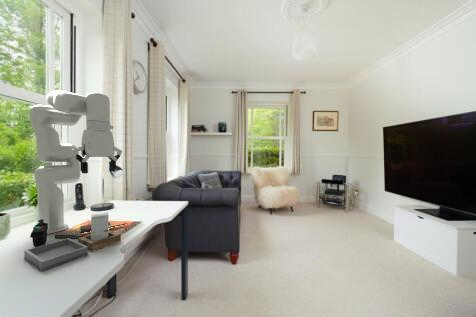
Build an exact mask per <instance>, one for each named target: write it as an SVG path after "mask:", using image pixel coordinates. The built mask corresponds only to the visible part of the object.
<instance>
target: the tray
mask: <svg viewBox="0 0 476 317" xmlns="http://www.w3.org/2000/svg"><path fill="white" fill-rule="evenodd" d="M88 255H89V250H88V246H85V245H83V244H81V243H79V242H78V241H76V240H74V239H71V238H70V237H68V238H64V239H60V240H56V241H54V242H53V241H52V242H50V243H46V244H45V245H42V246H38V247H31V248H28V249H24V250H23V257H24V260H25V261H27V262H28V263H29V264H31V265H32V266H34V268H36V269H37V270H39V271H40V272H45V271H47V270H51V269H53V268H56V267H58V266H61V265H64V264H67V263H69V262H73V261H75V260H78V259H81V258H84V257H86V256H88Z"/></svg>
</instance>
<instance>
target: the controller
mask: <svg viewBox="0 0 476 317" xmlns="http://www.w3.org/2000/svg"><path fill="white" fill-rule="evenodd" d="M43 221H44V219H41V220H38V219H37V223H36V224H35V225H34V226H33V228H32V230H31V233H30V236H29V237H30V238H31V239H32V244H33V245H32V246H33V248H35V247H38V246H42V245H45V244H47V240H48V234H47V229H48V223H44V222H43ZM38 222H39V223H38Z"/></svg>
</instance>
